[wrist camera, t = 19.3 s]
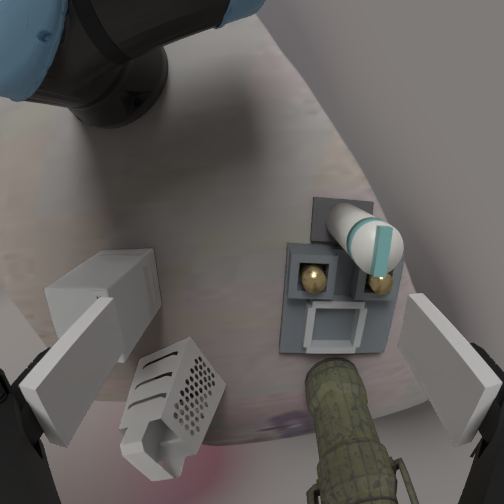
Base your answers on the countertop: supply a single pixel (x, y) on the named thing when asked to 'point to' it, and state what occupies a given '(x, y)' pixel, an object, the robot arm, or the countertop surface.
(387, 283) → the plunger
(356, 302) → the housing
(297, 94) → the countertop surface
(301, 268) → the plunger
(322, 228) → the mat
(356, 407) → the thermos
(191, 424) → the grater
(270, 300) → the countertop surface
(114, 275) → the supplement box
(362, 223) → the cartridge
